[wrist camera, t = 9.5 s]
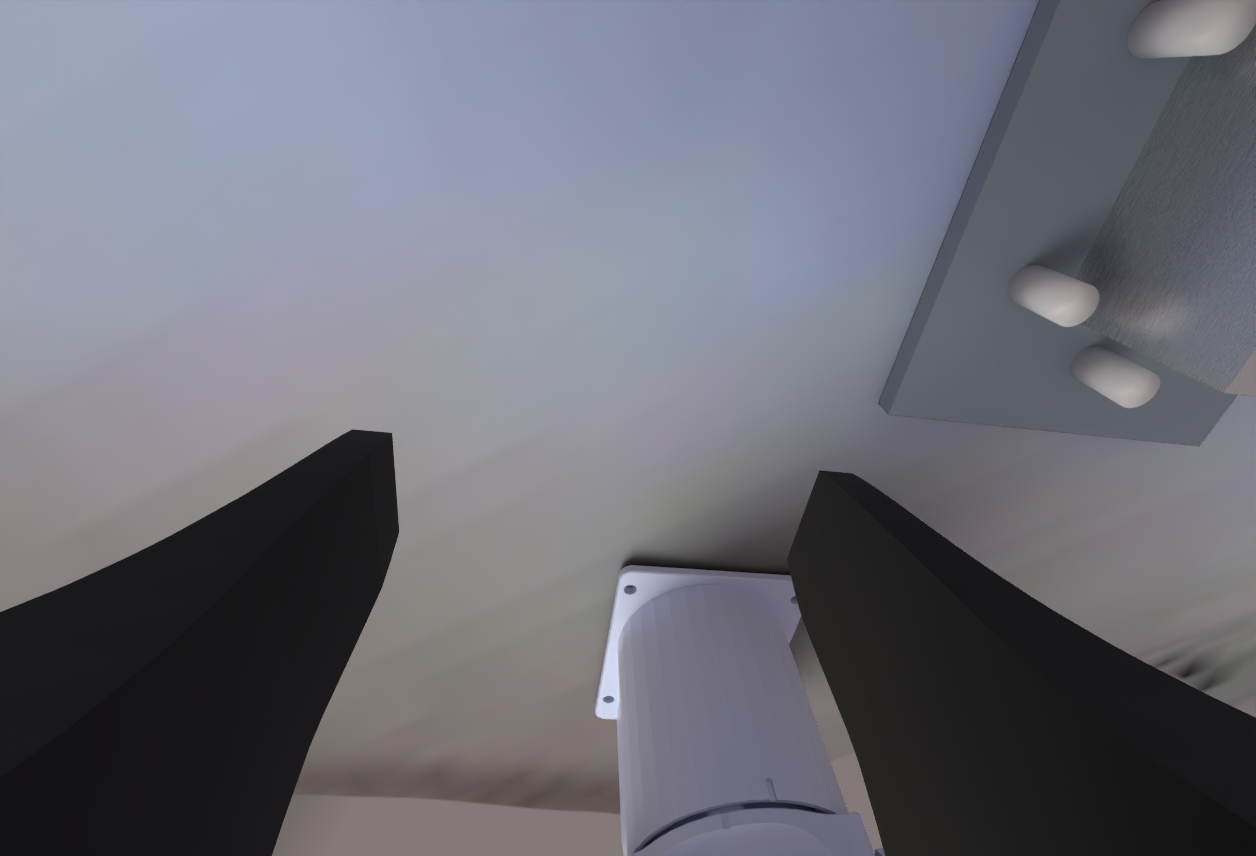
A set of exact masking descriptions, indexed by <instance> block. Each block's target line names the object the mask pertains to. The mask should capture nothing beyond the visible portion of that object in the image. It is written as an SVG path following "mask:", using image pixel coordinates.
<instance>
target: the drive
mask: <svg viewBox="0 0 1256 856" xmlns="http://www.w3.org/2000/svg"><path fill="white" fill-rule="evenodd" d="M1075 279H1077V280H1080V281H1082V282H1085V283H1087V284H1090V285H1092V286H1094V287H1095V288H1096V289H1097V290H1098V292H1099V303H1098V306H1097V308H1096V309H1095V311H1094V312H1093V314H1092V315H1091V316H1090V317H1089V318H1088V319H1087V320H1085V321H1084V322H1082V323H1080V324H1081V325H1083V326H1085V327H1088V328H1090V329H1092V330H1094V331H1096V332H1098V333H1100V334H1102V335H1104V336H1106V337H1108V338H1110V339H1112V340H1115V341H1117V342H1119V343H1121V344H1123V345H1125V346H1127V347H1129V348H1131V349H1133V350H1135V351H1137V352H1139V353H1142V354H1144V355H1146V356H1148V357H1150V358H1152V359H1154V360H1156V361H1158V362H1160V363H1162V364H1164V365H1167V366H1169V367H1171V368H1173V369H1175V370H1177V371H1179V372H1181V373H1183V374H1185V375H1187V376H1189V377H1191V378H1194V379H1196V380H1198V381H1200V382H1202V383H1204V384H1206V385H1208V386H1210V387H1212V388H1214V389H1216V390H1219V391H1221V392H1223V393H1227V394H1237V395H1246V396H1255V397H1256V23H1255V25H1254V27H1253V29H1252V30H1251V32H1250V33H1249V35H1248V36H1247V37H1246V38H1245V39H1244V41H1243V42H1242V43H1240V44H1239V45H1238V46H1237V47H1235V48H1234V49H1232V50H1231V51H1229V52H1227V53H1224V54H1220V55H1206V56H1191V57H1190V59H1189V61H1188V63H1187V65H1186V67H1185V68H1184V70H1183V72H1182V74H1181V76H1180V78H1179V80H1178V82H1177V84H1176V86H1175V88H1174V90H1173V91H1172V93H1171V95H1170V97H1169V99H1168V101H1167V103H1166V105H1165V107H1164V109H1163V111H1162V113H1161V115H1160V116H1159V118H1158V120H1157V122H1156V124H1155V126H1154V128H1153V130H1152V132H1151V134H1150V136H1149V138H1148V139H1147V141H1146V143H1145V145H1144V147H1143V149H1142V151H1141V153H1140V155H1139V157H1138V159H1137V161H1136V162H1135V164H1134V166H1133V168H1132V170H1131V172H1130V174H1129V176H1128V178H1127V180H1126V182H1125V184H1124V185H1123V187H1122V189H1121V191H1120V193H1119V195H1118V197H1117V199H1116V201H1115V203H1114V205H1113V207H1112V208H1111V210H1110V212H1109V214H1108V216H1107V218H1106V220H1105V222H1104V224H1103V226H1102V228H1101V230H1100V231H1099V233H1098V235H1097V237H1096V239H1095V241H1094V243H1093V245H1092V247H1091V249H1090V251H1089V253H1088V255H1087V256H1086V258H1085V260H1084V262H1083V264H1082V266H1081V268H1080V270H1079V272H1078V274H1077V276H1076V278H1075Z"/></svg>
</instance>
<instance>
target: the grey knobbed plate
mask: <svg viewBox="0 0 1256 856" xmlns="http://www.w3.org/2000/svg"><path fill="white" fill-rule="evenodd" d="M1255 23H1256V0H1040V1H1039V4H1038V6H1037V9H1036V11H1035V14H1034V16H1033V19H1032V21H1031V24H1030V26H1029V29H1028V31H1027V34H1026V36H1025V39H1024V41H1023V44H1022V46H1021V49H1020V51H1019V54H1018V56H1017V59H1016V61H1015V64H1014V66H1013V69H1012V71H1011V74H1010V76H1009V79H1008V81H1007V84H1006V86H1005V89H1004V91H1003V94H1002V96H1001V99H1000V101H999V104H998V106H997V109H996V111H995V114H994V116H993V119H992V121H991V124H990V126H989V129H988V131H987V134H986V136H985V139H984V141H983V144H982V146H981V149H980V151H979V154H978V156H977V159H976V161H975V164H974V166H973V169H972V171H971V174H970V176H969V179H968V181H967V184H966V186H965V189H964V191H963V194H962V196H961V199H960V201H959V204H958V206H957V209H956V211H955V214H954V216H953V219H952V221H951V224H950V226H949V229H948V231H947V234H946V236H945V239H944V241H943V244H942V246H941V249H940V251H939V254H938V256H937V259H936V261H935V264H934V266H933V269H932V271H931V274H930V276H929V279H928V281H927V284H926V286H925V289H924V291H923V293H922V296H921V298H920V301H919V303H918V306H917V308H916V311H915V313H914V316H913V318H912V321H911V323H910V326H909V328H908V331H907V333H906V336H905V338H904V341H903V343H902V346H901V348H900V351H899V353H898V356H897V358H896V361H895V363H894V366H893V368H892V371H891V373H890V376H889V378H888V381H887V383H886V386H885V388H884V391H883V393H882V396H881V398H880V401H879V403H878V404H879V405H880V406H881V407H882V408H883V409H884V410H885V411H886V413H887V414H888V415H896V416H906V417H916V418H925V419H935V420H945V421H955V422H965V423H975V424H984V425H994V426H1004V427H1014V428H1024V429H1034V430H1044V431H1053V432H1063V433H1073V434H1083V435H1093V436H1103V437H1112V438H1122V439H1132V440H1142V441H1152V442H1162V443H1172V444H1181V445H1191V446H1200V445H1201V444H1202V442H1203V441H1204V439H1205V438H1206V437H1207V435H1208V434H1209V433H1210V431H1211V430H1212V429H1213V427H1214V426H1215V425H1216V423H1217V422H1218V421H1219V419H1220V418H1221V417H1222V415H1223V414H1224V413H1225V411H1226V410H1227V408H1228V407H1229V406H1230V404H1231V403H1232V402H1233V400H1234V399H1235V398H1236V396H1237V394H1227V393H1223V392H1221V391H1219V390H1216V389H1214V388H1212V387H1210V386H1208V385H1206V384H1204V383H1202V382H1200V381H1198V380H1196V379H1194V378H1191V377H1189V376H1187V375H1185V374H1183V373H1181V372H1179V371H1177V370H1175V369H1173V368H1171V367H1169V366H1167V365H1164V364H1162V363H1160V362H1158V361H1156V360H1154V359H1152V358H1150V357H1148V356H1146V355H1144V354H1142V353H1139V352H1137V351H1135V350H1133V349H1131V348H1129V347H1127V346H1125V345H1123V344H1121V343H1119V342H1117V341H1115V340H1112V339H1110V338H1108V337H1106V336H1104V335H1102V334H1100V333H1098V332H1096V331H1094V330H1092V329H1090V328H1088V327H1085V326H1083V325H1081V324H1080V323H1082V322H1084V321H1085V320H1087V319H1088V318H1089V317H1090V316H1091V315H1092V314H1093V312H1094V311H1095V309H1096V308H1097V306H1098V303H1099V292H1098V290H1097V289H1096V288H1095V287H1094V286H1092V285H1090V284H1087V283H1085V282H1082V281H1080V280H1077V279H1075V278H1076V276H1077V274H1078V272H1079V270H1080V268H1081V266H1082V264H1083V262H1084V260H1085V258H1086V256H1087V255H1088V253H1089V251H1090V249H1091V247H1092V245H1093V243H1094V241H1095V239H1096V237H1097V235H1098V233H1099V231H1100V230H1101V228H1102V226H1103V224H1104V222H1105V220H1106V218H1107V216H1108V214H1109V212H1110V210H1111V208H1112V207H1113V205H1114V203H1115V201H1116V199H1117V197H1118V195H1119V193H1120V191H1121V189H1122V187H1123V185H1124V184H1125V182H1126V180H1127V178H1128V176H1129V174H1130V172H1131V170H1132V168H1133V166H1134V164H1135V162H1136V161H1137V159H1138V157H1139V155H1140V153H1141V151H1142V149H1143V147H1144V145H1145V143H1146V141H1147V139H1148V138H1149V136H1150V134H1151V132H1152V130H1153V128H1154V126H1155V124H1156V122H1157V120H1158V118H1159V116H1160V115H1161V113H1162V111H1163V109H1164V107H1165V105H1166V103H1167V101H1168V99H1169V97H1170V95H1171V93H1172V91H1173V90H1174V88H1175V86H1176V84H1177V82H1178V80H1179V78H1180V76H1181V74H1182V72H1183V70H1184V68H1185V67H1186V65H1187V63H1188V61H1189V59H1190V57H1191V56H1206V55H1220V54H1224V53H1227V52H1229V51H1231V50H1232V49H1234V48H1235V47H1237V46H1238V45H1239V44H1240V43H1242V42H1243V41H1244V39H1245V38H1246V37H1247V36H1248V35H1249V33H1250V32H1251V30H1252V29H1253V27H1254V25H1255Z"/></svg>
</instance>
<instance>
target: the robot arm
mask: <svg viewBox="0 0 1256 856" xmlns="http://www.w3.org/2000/svg"><path fill="white" fill-rule="evenodd" d="M398 534H399V524H398V510H397V496H396V482H395V469H394V455H393V441H392V433H386V432H374V431H363V430H351V431H349V432H347V433H345V434H343V435H341V436H340V437H338V438H336V439H335V440H333V441H331V442H330V443H328V444H326V445H325V446H323V447H322V448H320V449H318V450H317V451H315V452H314V453H312V454H310V455H309V456H307V457H306V458H304V459H302V460H301V461H299V462H298V463H296V464H294V465H293V466H291V467H290V468H288V469H286V470H285V471H283V472H281V473H280V474H278V475H276V476H275V477H273V478H271V479H270V480H268V481H267V482H265V483H263V484H262V485H260V486H258V487H257V488H255V489H253V490H252V491H250V492H248V493H247V494H245V495H243V496H242V497H240V498H238V499H236V500H234V501H233V502H231V503H229V504H227V505H225V506H224V507H222V508H220V509H218V510H216V511H215V512H213V513H211V514H209V515H207V516H206V517H204V518H202V519H200V520H198V521H196V522H195V523H193V524H191V525H189V526H187V527H186V528H184V529H182V530H180V531H178V532H177V533H175V534H173V535H171V536H169V537H167V538H165V539H163V540H161V541H159V542H157V543H155V544H153V545H151V546H149V547H147V548H145V549H143V550H141V551H139V552H137V553H135V554H133V555H131V556H129V557H127V558H125V559H123V560H120V561H118V562H116V563H114V564H112V565H110V566H107V567H105V568H103V569H101V570H99V571H97V572H95V573H92V574H90V575H88V576H86V577H84V578H82V579H79V580H77V581H75V582H73V583H70V584H68V585H66V586H63V587H61V588H59V589H57V590H54V591H52V592H49V593H47V594H44V595H42V596H39V597H37V598H34V599H32V600H29V601H27V602H25V603H22V604H20V605H17V606H15V607H12V608H10V609H7V610H5V611H2V612H0V856H272V853H273V850H274V847H275V844H276V841H277V838H278V835H279V832H280V829H281V826H282V823H283V820H284V818H285V815H286V812H287V809H288V806H289V803H290V800H291V798H292V795H293V792H294V789H295V786H296V783H297V781H298V778H299V775H300V772H301V769H302V766H303V764H304V761H305V758H306V755H307V752H308V750H309V747H310V745H311V742H312V740H313V737H314V735H315V733H316V730H317V728H318V725H319V723H320V721H321V718H322V716H323V714H324V712H325V709H326V707H327V705H328V703H329V701H330V699H331V697H332V694H333V692H334V690H335V688H336V686H337V684H338V682H339V679H340V677H341V675H342V673H343V671H344V669H345V667H346V664H347V662H348V660H349V658H350V656H351V654H352V651H353V649H354V647H355V645H356V643H357V641H358V639H359V636H360V634H361V632H362V630H363V628H364V626H365V623H366V621H367V619H368V617H369V615H370V613H371V610H372V608H373V606H374V604H375V602H376V599H377V597H378V595H379V593H380V590H381V588H382V586H383V583H384V580H385V576H386V573H387V570H388V567H389V564H390V561H391V558H392V554H393V551H394V547H395V544H396V541H397V537H398ZM787 560H788V565H789V569H790V574H791V575H776V574H761V573H745V572H730V571H715V570H699V569H684V568H669V567H653V566H638V565H630V566H626V567H624V568H623V569H621V571H620V573H619V577H618V583H617V588H616V594H615V599H614V605H613V611H612V616H611V622H610V627H609V633H608V638H607V644H606V650H605V655H604V661H603V666H602V672H601V677H600V683H599V689H598V694H597V700H596V705H595V712H596V715H597V716H598V717H600V718H603V719H617V735H618V759H619V783H620V808H621V831H622V846H623V853H624V856H1256V718H1255V717H1253V716H1251V715H1249V714H1247V713H1245V712H1242V711H1240V710H1238V709H1236V708H1234V707H1232V706H1230V705H1228V704H1226V703H1224V702H1221V701H1219V700H1217V699H1215V698H1213V697H1211V696H1209V695H1207V694H1205V693H1203V692H1201V691H1199V690H1197V689H1195V688H1193V687H1191V686H1189V685H1187V684H1185V683H1184V682H1182V681H1180V680H1178V679H1176V678H1174V677H1172V676H1170V675H1168V674H1166V673H1164V672H1162V671H1160V670H1158V669H1156V668H1154V667H1152V666H1150V665H1148V664H1146V663H1144V662H1143V661H1141V660H1139V659H1137V658H1135V657H1133V656H1132V655H1130V654H1128V653H1126V652H1124V651H1122V650H1121V649H1119V648H1117V647H1115V646H1113V645H1111V644H1110V643H1108V642H1106V641H1104V640H1103V639H1101V638H1099V637H1098V636H1096V635H1094V634H1092V633H1091V632H1089V631H1087V630H1086V629H1084V628H1082V627H1080V626H1079V625H1077V624H1075V623H1074V622H1072V621H1070V620H1068V619H1067V618H1065V617H1063V616H1062V615H1060V614H1058V613H1056V612H1055V611H1053V610H1052V609H1050V608H1048V607H1047V606H1045V605H1044V604H1042V603H1040V602H1039V601H1037V600H1035V599H1034V598H1032V597H1031V596H1029V595H1028V594H1026V593H1025V592H1023V591H1022V590H1020V589H1019V588H1017V587H1016V586H1014V585H1013V584H1011V583H1010V582H1008V581H1007V580H1005V579H1003V578H1002V577H1000V576H999V575H997V574H996V573H994V572H993V571H991V570H990V569H988V568H987V567H986V566H984V565H983V564H981V563H980V562H978V561H977V560H975V559H974V558H973V557H971V556H970V555H968V554H967V553H965V552H964V551H963V550H961V549H960V548H958V547H957V546H956V545H954V544H953V543H951V542H950V541H949V540H947V539H946V538H944V537H943V536H942V535H940V534H939V533H937V532H936V531H935V530H933V529H932V528H931V527H929V526H928V525H927V524H925V523H924V522H922V521H921V520H920V519H918V518H917V517H916V516H914V515H913V514H911V513H910V512H909V511H907V510H906V509H905V508H903V507H902V506H900V505H899V504H898V503H896V502H895V501H894V500H892V499H891V498H889V497H888V496H886V495H885V494H884V493H882V492H881V491H879V490H878V489H876V488H875V487H873V486H872V485H871V484H869V483H867V482H866V481H864V480H863V479H861V478H859V477H858V476H856V475H854V474H852V473H840V472H829V471H819V473H818V476H817V479H816V482H815V484H814V487H813V490H812V492H811V495H810V498H809V501H808V503H807V506H806V509H805V512H804V514H803V517H802V520H801V522H800V525H799V528H798V531H797V533H796V536H795V539H794V541H793V544H792V547H791V550H790V552H789V555H788V558H787ZM628 585H633V587H626V586H628ZM794 596H796V597H794ZM801 615H802V618H803V621H804V623H805V626H806V629H807V631H808V634H809V636H810V639H811V641H812V644H813V646H814V649H815V652H816V654H817V657H818V659H819V662H820V664H821V666H822V669H823V671H824V674H825V676H826V679H827V681H828V684H829V686H830V689H831V691H832V694H833V696H834V699H835V701H836V704H837V706H838V709H839V711H840V714H841V716H842V719H843V721H844V724H845V726H846V729H847V731H848V734H849V736H850V739H851V742H852V745H853V748H854V750H855V753H856V756H857V759H858V762H859V765H860V768H861V772H862V775H863V778H864V782H865V785H866V788H867V792H868V796H869V799H870V802H871V806H872V809H873V812H874V816H875V820H876V823H877V826H878V830H879V834H880V838H881V841H882V845H883V848H879V849H875V853H874V851H873V848H872V845H871V843H870V840H869V837H868V835H867V832H866V829H865V827H864V824H863V821H862V819H861V816H860V814H859V813H857V812H852V813H849V812H848V809H847V807H846V803H845V800H844V797H843V795H842V792H841V789H840V786H839V784H838V781H837V778H836V775H835V772H834V770H833V767H832V764H831V761H830V758H829V755H828V753H827V750H826V747H825V744H824V741H823V739H822V736H821V733H820V730H819V728H818V725H817V722H816V719H815V716H814V714H813V711H812V708H811V705H810V702H809V700H808V697H807V694H806V691H805V688H804V686H803V683H802V680H801V677H800V674H799V672H798V669H797V666H796V663H795V660H794V658H793V655H792V652H791V649H790V646H789V645H790V642H791V640H792V637H793V635H794V632H795V630H796V628H797V625H798V623H799V620H800V618H801Z"/></svg>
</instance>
